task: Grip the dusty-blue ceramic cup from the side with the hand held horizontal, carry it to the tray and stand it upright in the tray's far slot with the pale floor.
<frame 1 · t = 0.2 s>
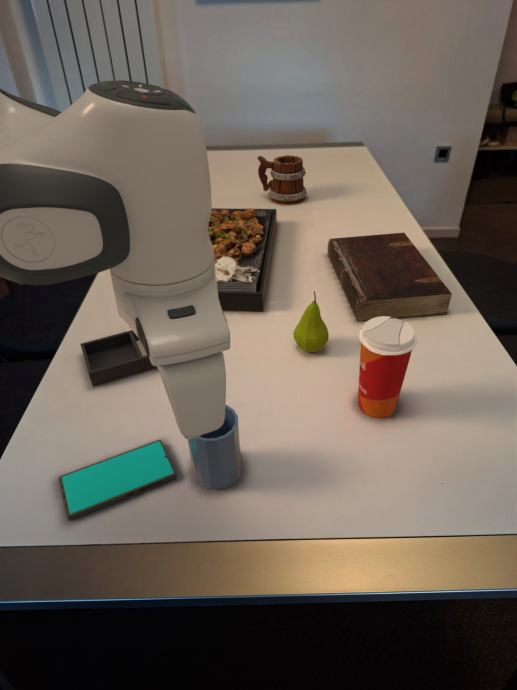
hand: (180, 401, 52), 21 cm above the table, tool pointing down, fingers open, 8 cm apart
hardback book: (380, 283, 112), on the table
coffee cup: (376, 406, 81), on the table
fruit: (310, 349, 93), on the table
blue cup: (217, 470, 71), on the table
food platter: (221, 261, 122), on the table
mug: (282, 199, 155), on the table
tray: (138, 357, 92), on the table
smartphone: (118, 480, 70), on the table
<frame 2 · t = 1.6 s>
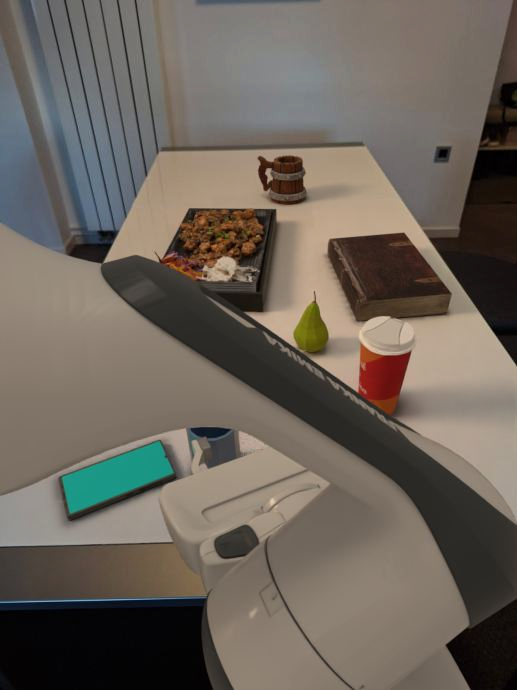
hand: (243, 427, 50), 20 cm above the table, tool horizontal, fingers open, 8 cm apart
nothing on the table moved.
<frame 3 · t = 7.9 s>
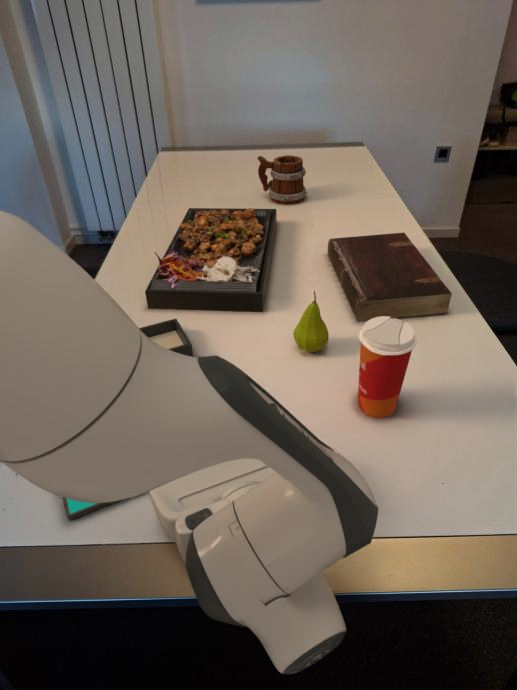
hand: (212, 439, 68), 6 cm above the table, tool horizontal, fingers closed on blue cup, 7 cm apart
blue cup: (217, 470, 71), on the table, touching gripper
everything else where it was.
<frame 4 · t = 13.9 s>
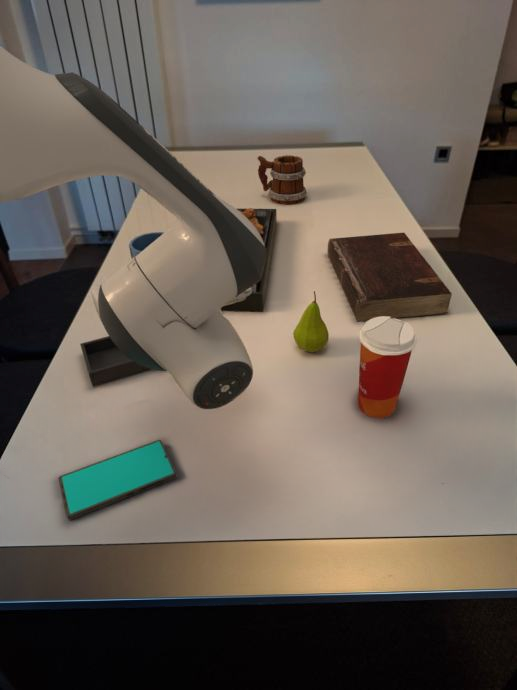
hand: (156, 267, 74), 22 cm above the table, tool horizontal, fingers closed on blue cup, 7 cm apart
blue cup: (163, 301, 76), point 16 cm above the table, touching gripper
everything else where it was.
when the fingers open (6 cm above the table, at t = 20.0 s): blue cup stays where it is, resting on tray.
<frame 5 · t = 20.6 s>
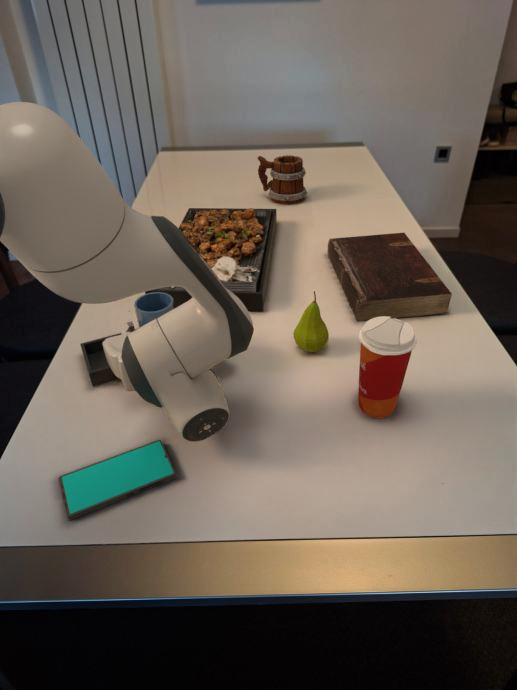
hand: (154, 318, 90), 7 cm above the table, tool horizontal, fingers open, 8 cm apart
blue cup: (162, 347, 93), point 1 cm above the table, touching tray
everything else where it was.
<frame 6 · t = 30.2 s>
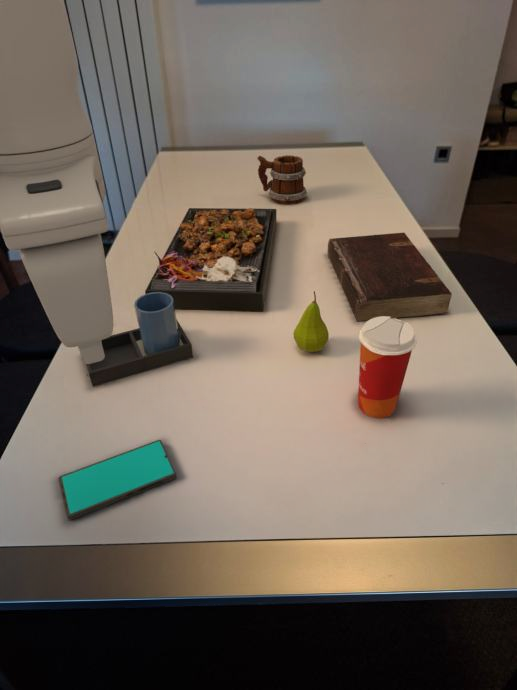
hand: (84, 329, 45), 31 cm above the table, tool pointing down, fingers open, 8 cm apart
nothing on the table moved.
at the end: blue cup 0.1 cm from the target spot in the tray, point 0.8 cm above the tray's base; blue cup tilted 0°; the gripper is holding nothing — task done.
